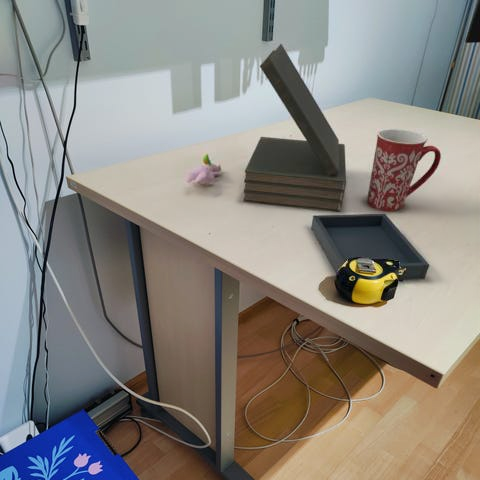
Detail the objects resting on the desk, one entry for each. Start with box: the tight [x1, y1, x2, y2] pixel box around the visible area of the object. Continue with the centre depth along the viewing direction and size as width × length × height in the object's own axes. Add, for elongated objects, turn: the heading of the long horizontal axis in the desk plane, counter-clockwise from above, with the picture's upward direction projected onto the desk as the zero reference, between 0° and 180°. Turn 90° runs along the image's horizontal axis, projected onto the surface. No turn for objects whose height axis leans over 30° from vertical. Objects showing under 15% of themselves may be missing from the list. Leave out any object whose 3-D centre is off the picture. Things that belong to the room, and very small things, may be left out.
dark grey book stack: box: [242, 43, 347, 213], centre depth 85 cm, size 23×20×25 cm
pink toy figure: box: [185, 153, 223, 186], centre depth 90 cm, size 6×6×15 cm
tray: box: [310, 213, 431, 281], centre depth 71 cm, size 14×18×3 cm
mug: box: [366, 128, 442, 212], centre depth 83 cm, size 13×9×14 cm
